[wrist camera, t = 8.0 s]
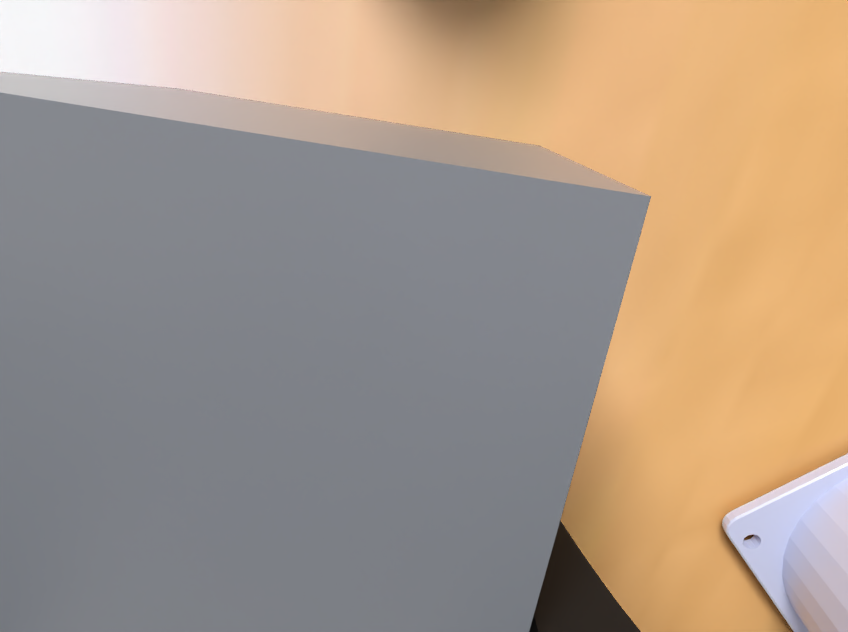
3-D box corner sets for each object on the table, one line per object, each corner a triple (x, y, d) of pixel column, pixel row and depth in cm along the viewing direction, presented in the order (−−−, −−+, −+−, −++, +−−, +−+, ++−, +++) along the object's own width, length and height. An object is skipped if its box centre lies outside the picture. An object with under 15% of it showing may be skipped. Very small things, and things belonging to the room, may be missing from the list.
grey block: (433, 652, 13) (400, 1091, 7) (177, 605, 13) (-61, 994, 7) (539, 146, 9) (652, 196, 3) (177, 88, 9) (-313, 42, 3)
